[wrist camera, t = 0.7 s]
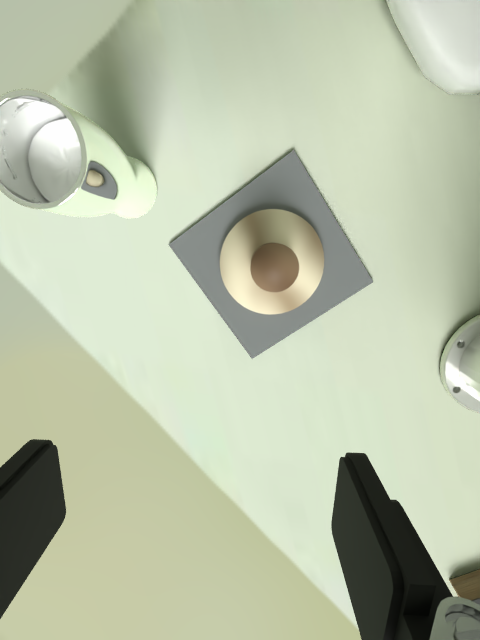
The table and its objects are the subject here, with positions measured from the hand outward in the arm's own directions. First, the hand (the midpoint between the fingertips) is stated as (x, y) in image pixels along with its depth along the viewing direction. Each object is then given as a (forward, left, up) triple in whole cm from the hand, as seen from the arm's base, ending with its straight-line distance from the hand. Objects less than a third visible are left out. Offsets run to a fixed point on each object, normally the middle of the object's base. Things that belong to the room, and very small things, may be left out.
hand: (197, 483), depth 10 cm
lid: (-6, -2, -26) cm, 27 cm away
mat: (-6, -2, -27) cm, 27 cm away
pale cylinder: (+2, -17, -27) cm, 32 cm away
